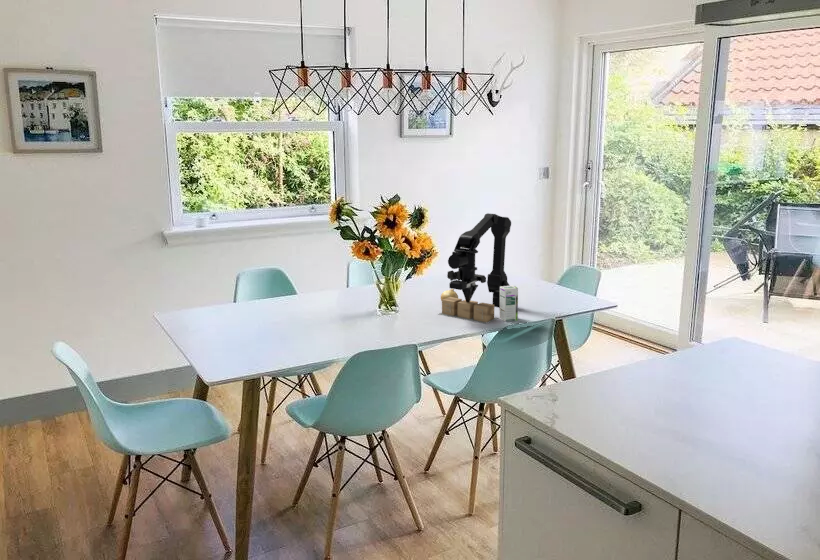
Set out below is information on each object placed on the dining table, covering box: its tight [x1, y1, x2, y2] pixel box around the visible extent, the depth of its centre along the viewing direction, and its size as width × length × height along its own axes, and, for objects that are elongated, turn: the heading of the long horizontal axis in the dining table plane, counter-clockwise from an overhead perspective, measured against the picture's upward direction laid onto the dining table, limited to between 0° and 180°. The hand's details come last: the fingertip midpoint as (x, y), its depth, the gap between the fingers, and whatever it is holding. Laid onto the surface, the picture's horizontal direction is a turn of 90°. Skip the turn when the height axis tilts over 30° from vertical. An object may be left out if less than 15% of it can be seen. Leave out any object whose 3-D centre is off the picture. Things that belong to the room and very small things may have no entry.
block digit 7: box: [474, 302, 495, 322], centre depth 281 cm, size 6×6×6 cm
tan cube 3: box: [441, 297, 463, 316], centre depth 291 cm, size 6×6×6 cm
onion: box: [440, 288, 459, 302], centre depth 310 cm, size 8×8×7 cm
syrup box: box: [499, 285, 519, 322], centre depth 280 cm, size 6×6×14 cm
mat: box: [437, 312, 500, 325], centre depth 287 cm, size 10×24×1 cm, turn 51°
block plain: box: [458, 299, 479, 319], centre depth 286 cm, size 6×6×6 cm
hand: (467, 302), depth 285 cm, fingers closed, pressing on block plain
